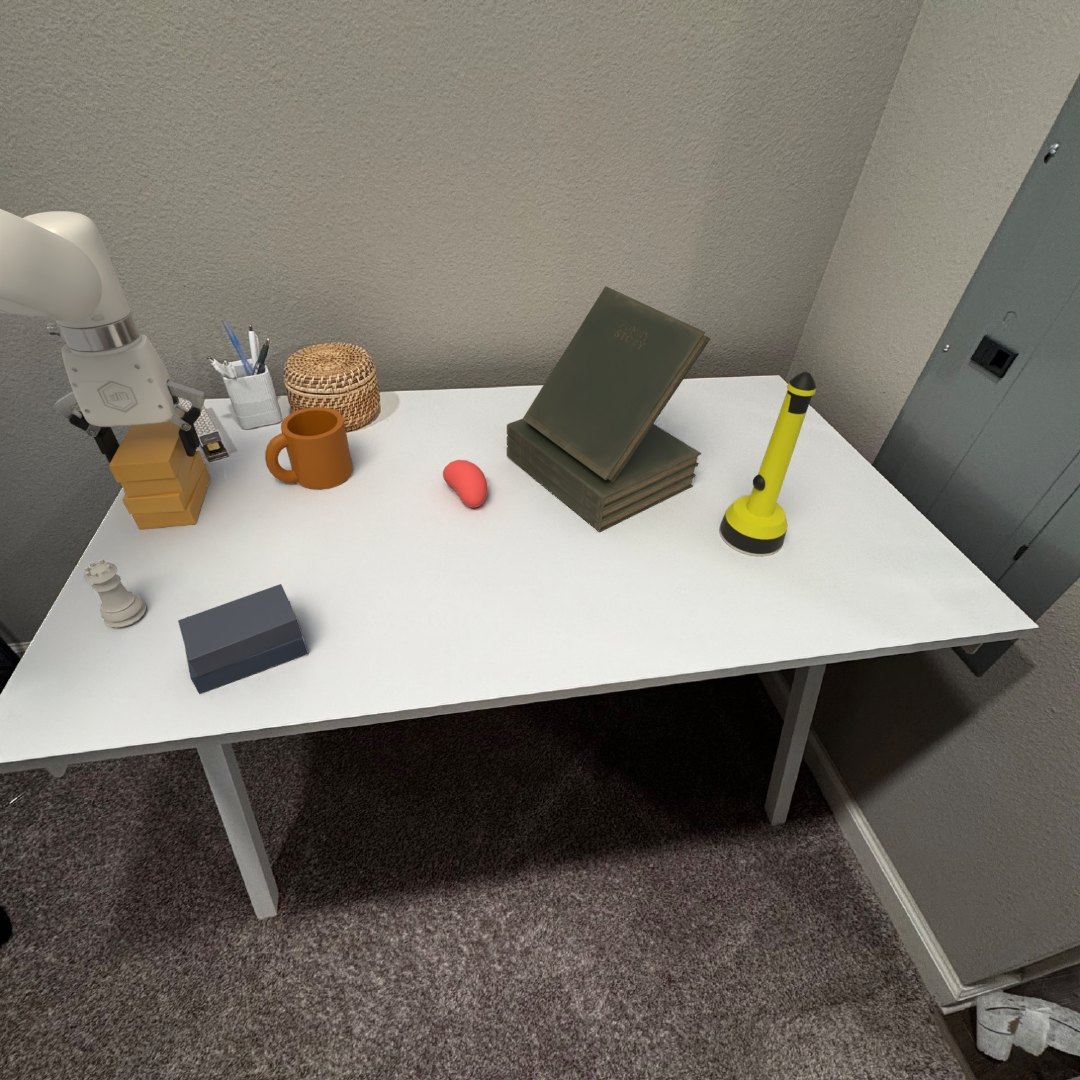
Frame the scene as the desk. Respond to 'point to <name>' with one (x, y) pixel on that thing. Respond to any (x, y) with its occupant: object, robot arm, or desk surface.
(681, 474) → the olive book stack
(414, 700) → the desk surface
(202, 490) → the tan block stack
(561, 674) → the desk surface
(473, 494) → the red kidney bean
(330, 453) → the mug
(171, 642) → the desk surface
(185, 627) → the slate books
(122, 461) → the orange tan block
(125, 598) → the rook chess piece
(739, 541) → the flashlight
